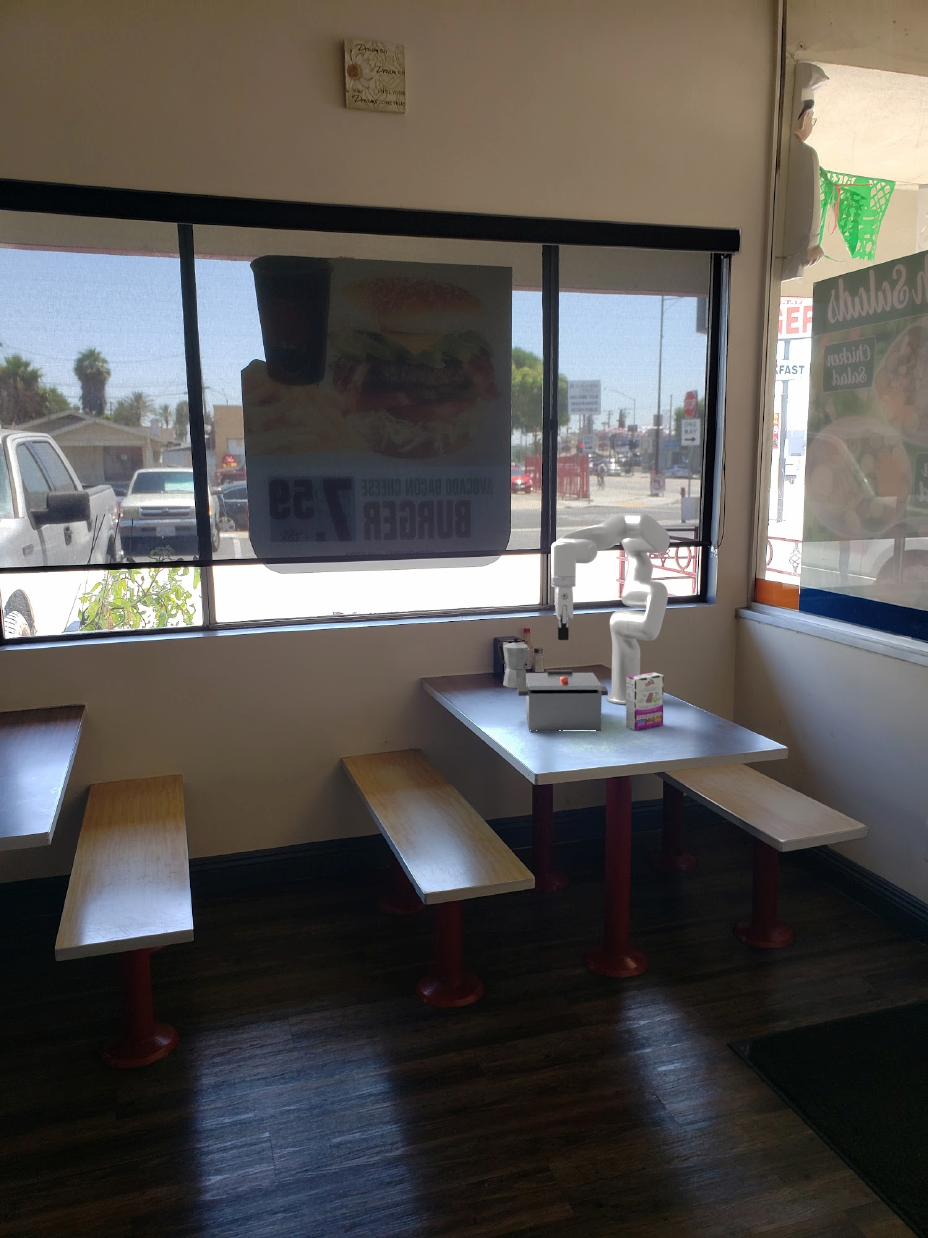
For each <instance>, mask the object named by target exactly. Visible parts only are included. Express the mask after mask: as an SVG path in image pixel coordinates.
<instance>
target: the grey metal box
mask: <svg viewBox="0 0 928 1238" xmlns="http://www.w3.org/2000/svg"><path fill="white" fill-rule="evenodd" d="M608 695H609V691H608V688H607V687H606V685H605V686H604V685H603V686H602V690H529V687H528V683H527V679H526V687H518V688H517V696H518V697H521V696H524V697H525V715H527V716H526V722H527V726H528V732H529V731H530V730H531V731H536V730H537V731H559V730H561V731H563V730H596V731H601V732H602V696H608Z"/></svg>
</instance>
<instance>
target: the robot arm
mask: <svg viewBox="0 0 928 1238" xmlns="http://www.w3.org/2000/svg"><path fill="white" fill-rule="evenodd" d="M670 539H671V538H670V535H669V532H668V530H667V529H666V528H665V527H663V526H662V524H660V523H659V522H658V521H657V520H656V519H655V518H654V517H652V516H650V515H649V514H646V513H645V512H643V513H642V512H640V513H639V512H620V513H617V514H615V515H613V516H611V517H610V518H608V519H606V520H604V521H601V522H600V523H599V524H595V525H590V526H588V527H583V528H580V529H576V530H573V531H570V532H568V533H565V534H564V535H562V536H560V537H559V538H558V539H557V540H556V541H554V542H552V544H551V548H550V549H551V551H550V552H551V553H550V557H551V558H550V559H551V560H550V561H551V562H550V563H551V564H550V565H551V566H550V570H551V572H550V573H551V574H550V576H551V578H550V579H551V581H550V582H551V583H550V586H551V587H552V588H554V606H555V607H554V608H555V616H556V617H557V619H558V621H557V622H558V626H557V640H558V641H569V637H570V636H569V631H570V630H569V629H570V627H569V618H570V619H571V620H572V619H574V591H573V588H574V587H576V585H577V583H576V577H577V576H576V573H577V571H576V569H577V566H576V565H577V564H589V563H591V562H593V561H594V560H595V559H596V558H597V556H598V551H603V550H607V549H611V548H613V547H614V546H616V545H617V544H620V543H621V545H622V548H623V550H624V552H625V556H626V558H627V571H626V575H625V577H624V578H625V579H624V582H623V586H622V590H621V595H620V596H621V597H620V599H621V602H622V604H623V605H625V606H627V607H629V608H630V607H631V608H637V609H645V611H641V610H634V609H626V608H625V609H619V610H615V611H614V612H613V613H611V616H610V619H609V628H610V629H609V630H610V636H611V645H612V646H611V649H612V650H611V693H608V695H606V700H607V701H608V702H609V703H612V704H620V705H626V677H628V676H634V675H641V648H640V645H639V643H638V641H637V640H639V641H640V640H641V641H654V640H656V639H657V638H658V636H659V634H660V631H661V628H662V625H663V620H664V618H665V612H666V608H667V606H668V599H669V596H668V595H669V593H668V588H667V586H666V585H665V584H664V583H663V582H660V581H654V580H652V576H653V571H654V570H653V569H654V567H653V563H652V560H651V558H650V557H649V555H648V554H662V553H665V552H666V551H667V550H668V548H669V546H670V542H671V541H670Z"/></svg>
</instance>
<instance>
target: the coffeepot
mask: <svg viewBox="0 0 928 1238" xmlns="http://www.w3.org/2000/svg"><path fill="white" fill-rule="evenodd" d="M512 639H513V642H511V643H509V642H508V641H507V642H506V641H500V642H499V643H498V645H497V649H498V653H499V657H500V662H501V664H506V667H505V671H504V676H503V683H502V685H503V686H504V687H505V686H506V687H505V688H508V689H518V687H526V673H527V670H526V667H525V665H526V663H527V659H528V652H529V651H530V647H529V645H527V644H525V643H521V642H518V637H513V638H512Z"/></svg>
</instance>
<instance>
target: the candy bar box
mask: <svg viewBox="0 0 928 1238" xmlns="http://www.w3.org/2000/svg"><path fill="white" fill-rule="evenodd" d="M664 679H665V678H664V674H662V673H657V672H649V673H642V674H641V673H640V675H634V676H628V677H626V704H625V706H626V707H625V709H626V711H625V712H626V713H625V714H626V715H625V719H626V720H625V721H626V722H625V724H626V725H625V727H626V728H627V729H629V728H630V730H633V731H634V732H636V730H637V731H641V730H647V728H648V729H652V728H658V727H663V726H664V684H665V683H664Z"/></svg>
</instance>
